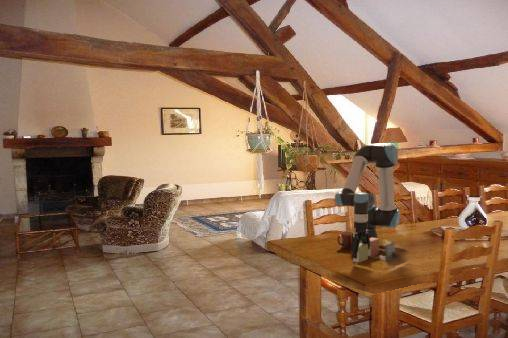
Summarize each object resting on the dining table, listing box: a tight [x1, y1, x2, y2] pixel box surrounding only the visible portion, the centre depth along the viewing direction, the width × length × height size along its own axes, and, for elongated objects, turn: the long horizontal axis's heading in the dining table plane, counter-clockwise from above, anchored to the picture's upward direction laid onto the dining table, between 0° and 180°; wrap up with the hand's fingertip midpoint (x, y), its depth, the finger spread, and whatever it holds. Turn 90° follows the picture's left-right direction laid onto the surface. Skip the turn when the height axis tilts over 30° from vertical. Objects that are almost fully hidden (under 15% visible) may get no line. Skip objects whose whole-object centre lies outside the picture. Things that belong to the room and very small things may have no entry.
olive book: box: [357, 243, 369, 266], centre depth 251 cm, size 4×8×10 cm, turn 134°
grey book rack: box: [350, 231, 401, 262], centre depth 260 cm, size 25×11×13 cm, turn 44°
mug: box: [336, 231, 355, 250], centre depth 277 cm, size 12×9×10 cm
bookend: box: [384, 242, 400, 262], centre depth 252 cm, size 4×8×8 cm, turn 134°
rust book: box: [368, 237, 380, 258], centre depth 261 cm, size 4×8×9 cm, turn 134°
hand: (360, 262), depth 251 cm, fingers closed on olive book, 8 cm apart
